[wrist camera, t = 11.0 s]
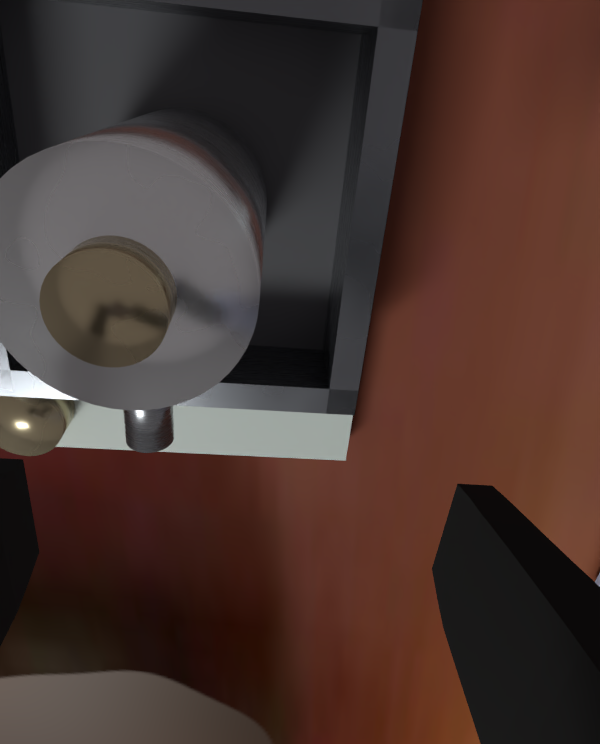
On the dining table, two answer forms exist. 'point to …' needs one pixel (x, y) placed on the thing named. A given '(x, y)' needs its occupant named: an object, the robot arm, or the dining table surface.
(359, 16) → the box
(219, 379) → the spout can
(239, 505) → the dining table surface
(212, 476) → the dining table surface
